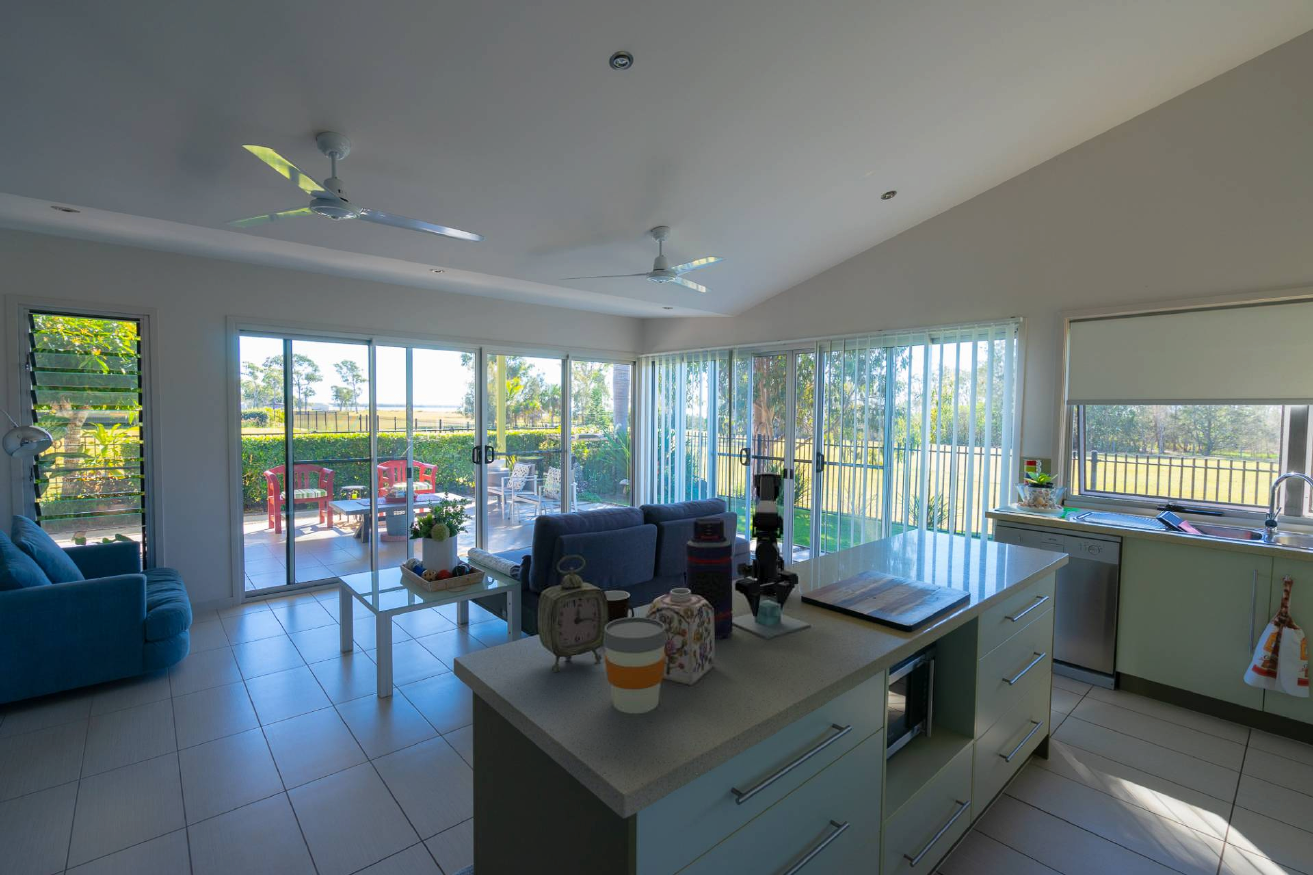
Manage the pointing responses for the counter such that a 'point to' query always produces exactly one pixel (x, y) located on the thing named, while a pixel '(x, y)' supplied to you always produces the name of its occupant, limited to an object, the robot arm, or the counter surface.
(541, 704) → the counter surface
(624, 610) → the coffee mug
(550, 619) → the tabletop clock
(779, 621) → the teal block
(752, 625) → the slate pad
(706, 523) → the thermos flask
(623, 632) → the reusable coffee cup
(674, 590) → the decorative jar
